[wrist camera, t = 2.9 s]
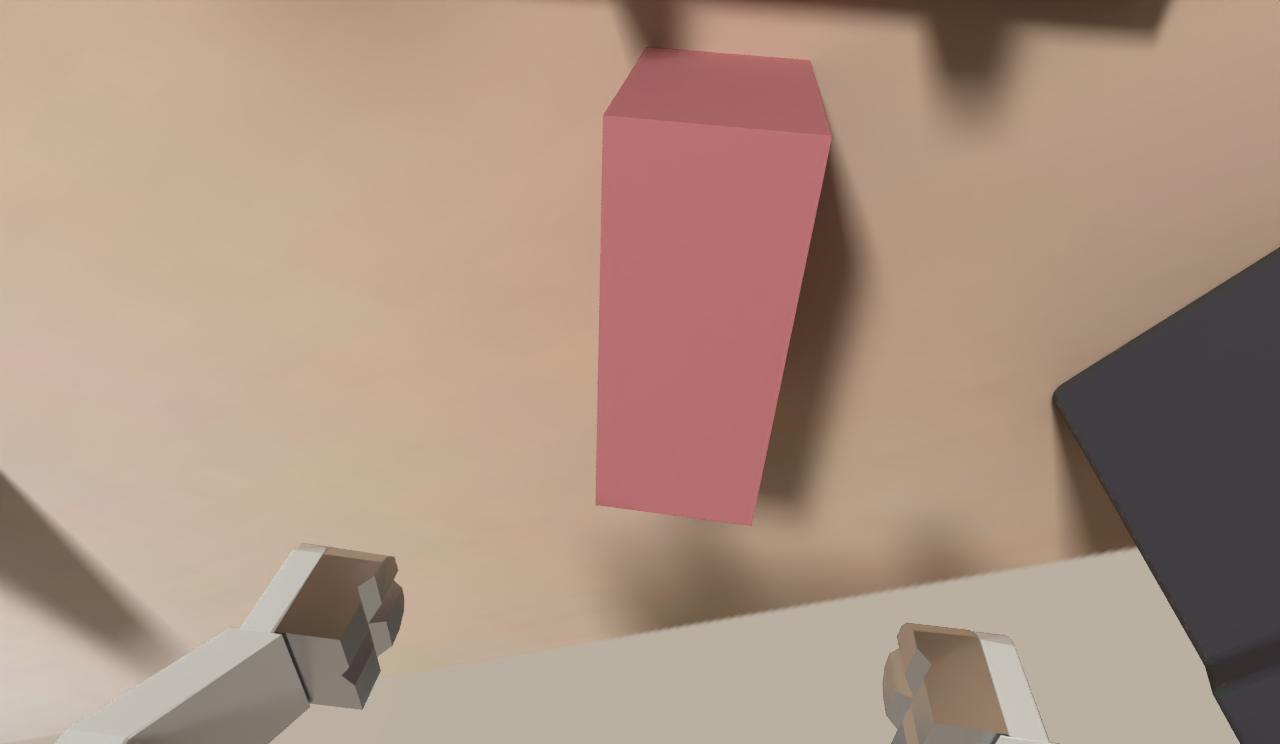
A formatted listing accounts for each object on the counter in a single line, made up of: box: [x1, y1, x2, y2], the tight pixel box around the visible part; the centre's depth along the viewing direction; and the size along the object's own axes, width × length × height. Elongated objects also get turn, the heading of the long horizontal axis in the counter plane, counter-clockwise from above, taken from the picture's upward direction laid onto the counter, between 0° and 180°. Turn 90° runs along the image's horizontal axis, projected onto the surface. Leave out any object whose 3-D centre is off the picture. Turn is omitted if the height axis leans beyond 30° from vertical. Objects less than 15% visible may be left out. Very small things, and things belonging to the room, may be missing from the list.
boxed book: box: [596, 47, 832, 526], centre depth 20 cm, size 4×11×7 cm, turn 177°
